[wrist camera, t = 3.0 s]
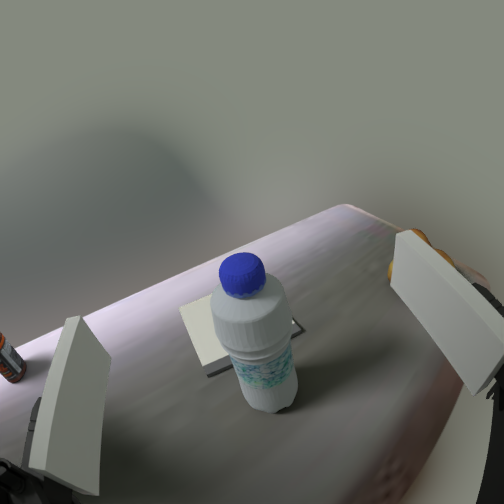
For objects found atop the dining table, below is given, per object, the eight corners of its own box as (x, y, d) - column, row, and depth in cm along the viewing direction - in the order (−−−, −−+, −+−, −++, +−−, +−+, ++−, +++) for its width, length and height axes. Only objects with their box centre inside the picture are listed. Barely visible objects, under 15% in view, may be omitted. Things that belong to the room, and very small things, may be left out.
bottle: (297, 369, 35) (280, 229, 24) (303, 415, 29) (289, 282, 18) (244, 375, 35) (199, 241, 24) (244, 421, 30) (184, 296, 19)
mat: (208, 377, 36) (206, 374, 35) (179, 310, 48) (178, 307, 47) (301, 332, 40) (301, 329, 39) (254, 278, 51) (254, 275, 51)
